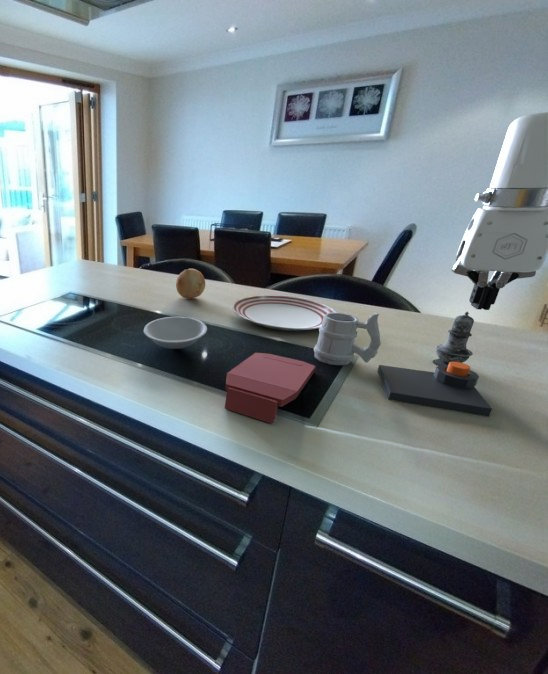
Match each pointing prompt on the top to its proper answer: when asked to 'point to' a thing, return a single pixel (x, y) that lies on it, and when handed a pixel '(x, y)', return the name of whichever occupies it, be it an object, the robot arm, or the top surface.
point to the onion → (190, 283)
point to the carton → (265, 384)
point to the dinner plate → (282, 312)
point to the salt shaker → (456, 342)
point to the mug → (345, 339)
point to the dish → (175, 331)
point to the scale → (434, 389)
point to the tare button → (458, 369)
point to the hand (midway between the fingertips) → (479, 307)
